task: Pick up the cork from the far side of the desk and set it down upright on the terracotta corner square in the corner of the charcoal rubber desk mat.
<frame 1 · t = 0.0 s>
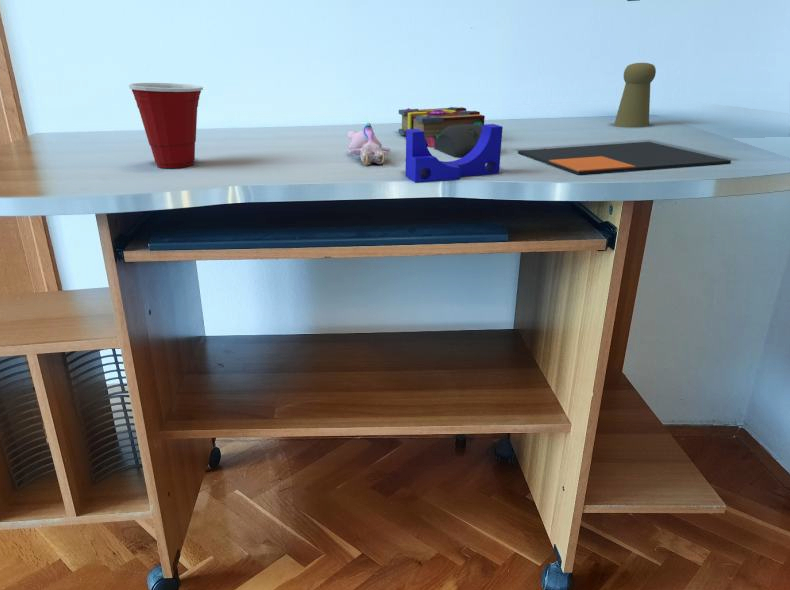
computer mouse: (462, 152, 102), on the table
decorative book: (440, 140, 115), on the table
blue cradle bracket: (453, 177, 85), on the table
plastic cup: (177, 166, 100), on the table
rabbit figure: (366, 160, 99), on the table
cork: (630, 129, 118), on the table
desk mat: (616, 157, 92), on the table
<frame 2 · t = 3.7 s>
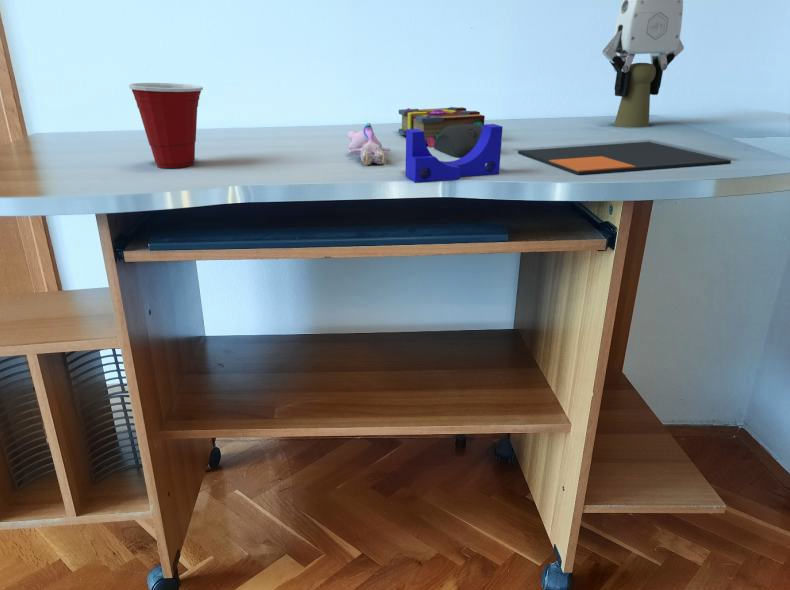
hand: (636, 94, 115), 6 cm above the table, tool pointing down, fingers closed on cork, 5 cm apart
cork: (630, 129, 118), on the table, touching gripper
everything else where it was.
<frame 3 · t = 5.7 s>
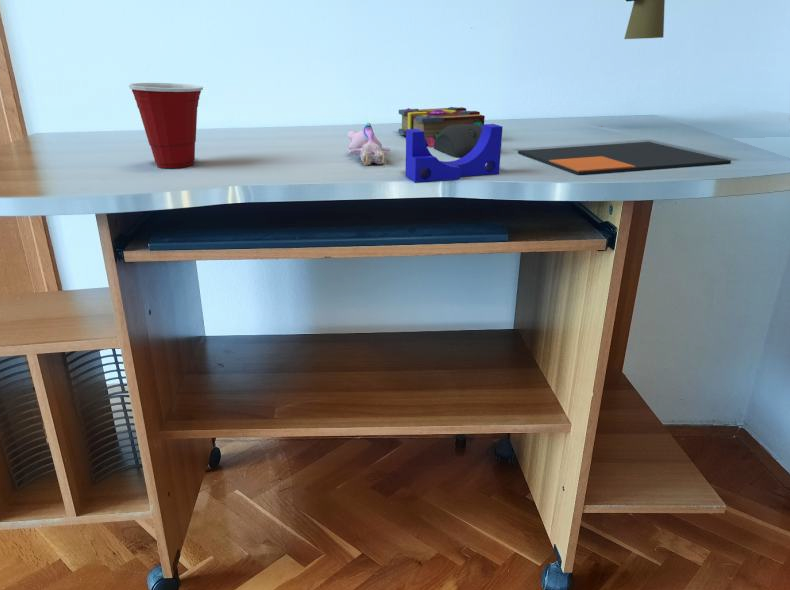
cork: (643, 39, 108), point 15 cm above the table, touching gripper
everything else where it was.
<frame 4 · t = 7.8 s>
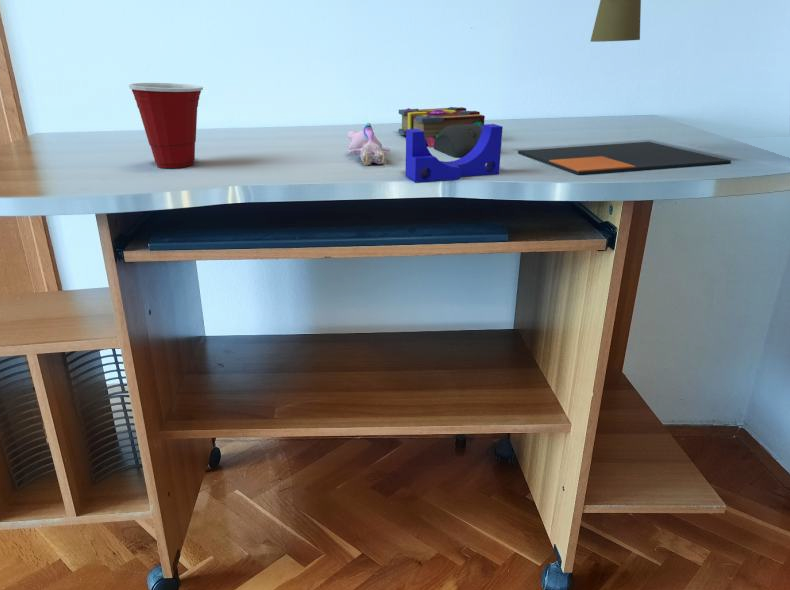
cork: (614, 42, 84), point 15 cm above the table, touching gripper
everything else where it was.
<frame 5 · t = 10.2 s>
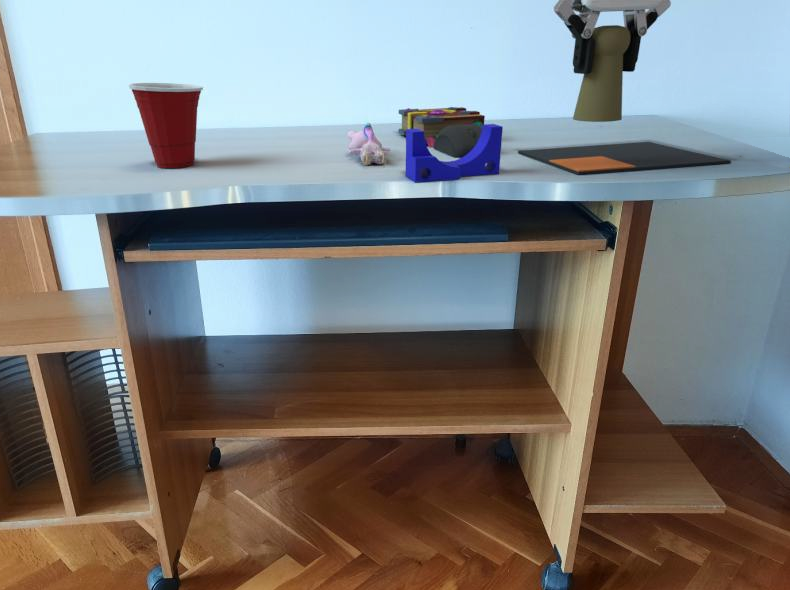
hand: (603, 70, 81), 12 cm above the table, tool pointing down, fingers closed on cork, 5 cm apart
cork: (596, 120, 84), point 6 cm above the table, touching gripper
everything else where it was.
when the fingers open (6 cm above the table, at t = 12.0 s): cork stays where it is, resting on desk mat.
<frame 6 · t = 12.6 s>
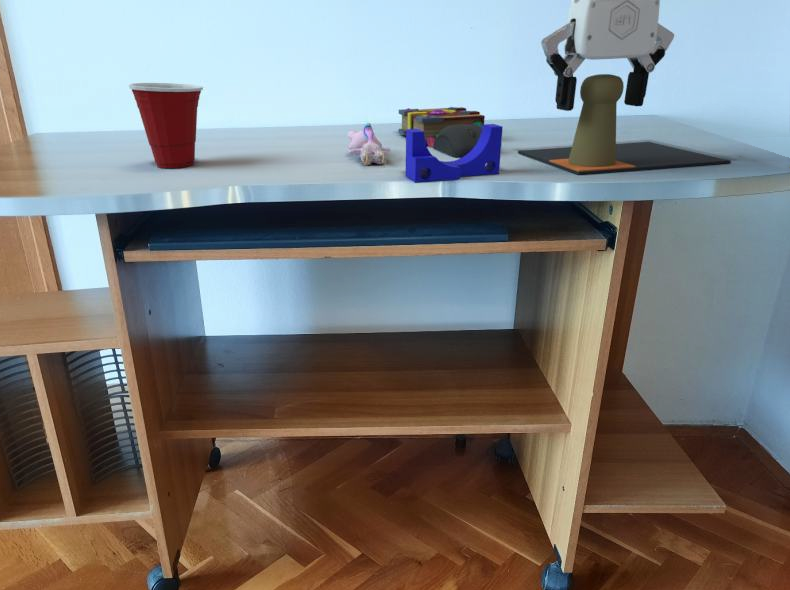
hand: (599, 107, 83), 8 cm above the table, tool pointing down, fingers open, 9 cm apart
cork: (591, 164, 86), resting on desk mat
everything else where it was.
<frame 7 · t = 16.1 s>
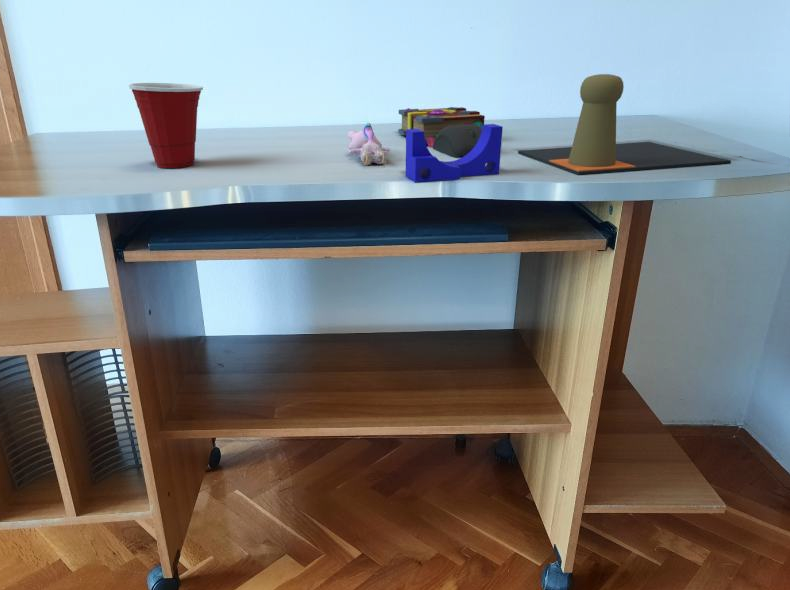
nothing on the table moved.
at the end: cork inside the target area on the desk mat (0.1 cm from its centre), point 0.4 cm above the desk mat's base; cork tilted 0°; the gripper is holding nothing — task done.
